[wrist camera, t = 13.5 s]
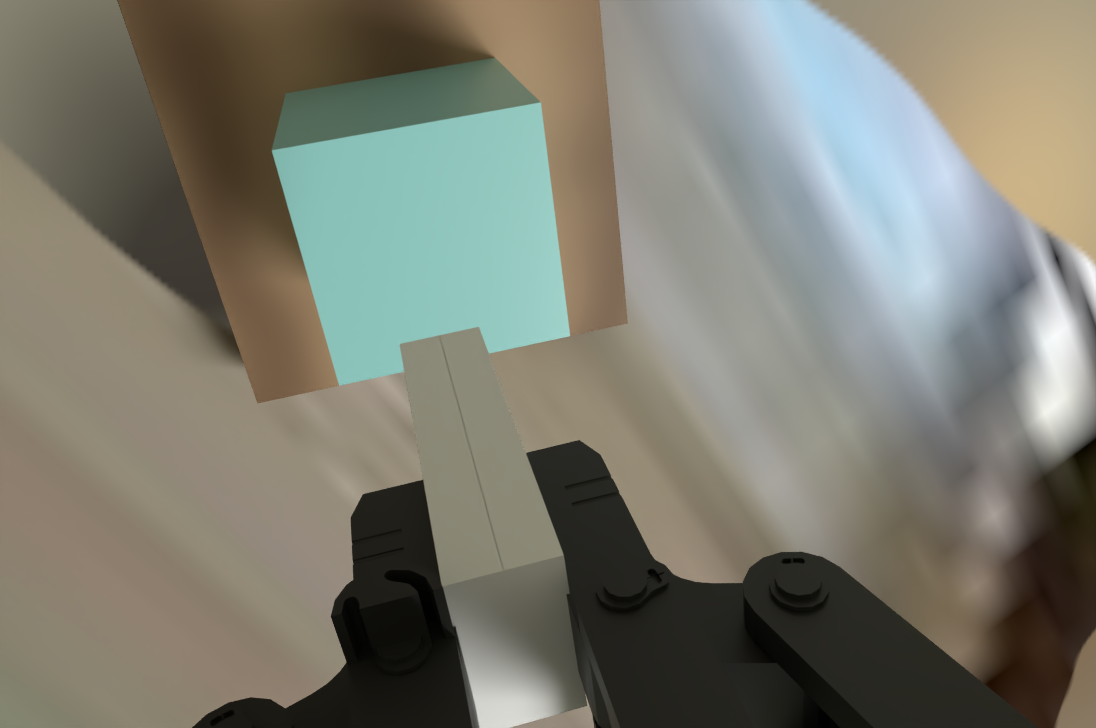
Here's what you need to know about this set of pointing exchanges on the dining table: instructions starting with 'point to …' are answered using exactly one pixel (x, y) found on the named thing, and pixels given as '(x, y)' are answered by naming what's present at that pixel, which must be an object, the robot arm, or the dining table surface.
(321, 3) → the stand
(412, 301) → the mint green cube
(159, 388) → the dining table surface
